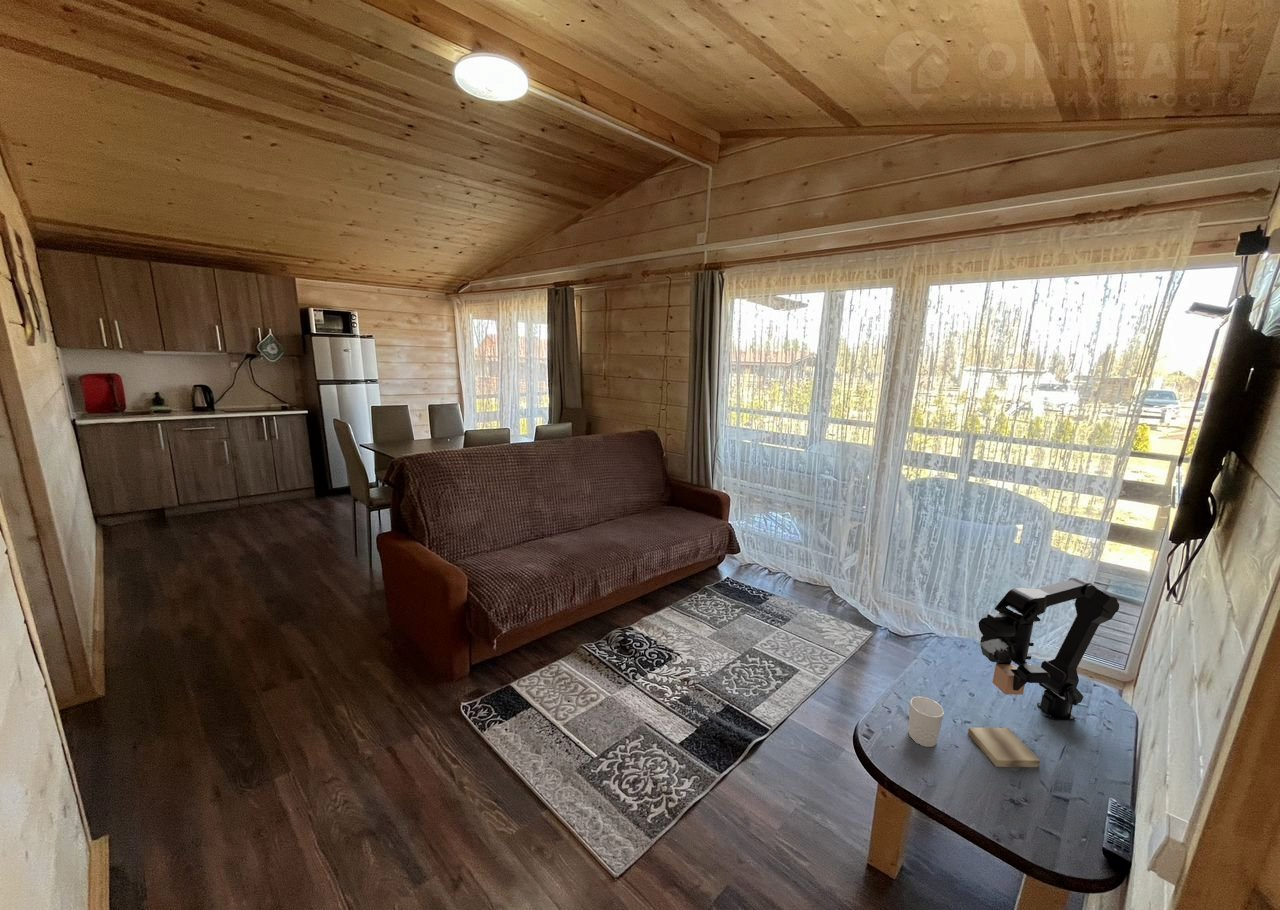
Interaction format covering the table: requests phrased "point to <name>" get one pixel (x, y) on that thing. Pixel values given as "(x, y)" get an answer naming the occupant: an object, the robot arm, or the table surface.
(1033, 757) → the base slab
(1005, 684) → the block
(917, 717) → the white cup
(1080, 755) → the table surface
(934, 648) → the table surface
